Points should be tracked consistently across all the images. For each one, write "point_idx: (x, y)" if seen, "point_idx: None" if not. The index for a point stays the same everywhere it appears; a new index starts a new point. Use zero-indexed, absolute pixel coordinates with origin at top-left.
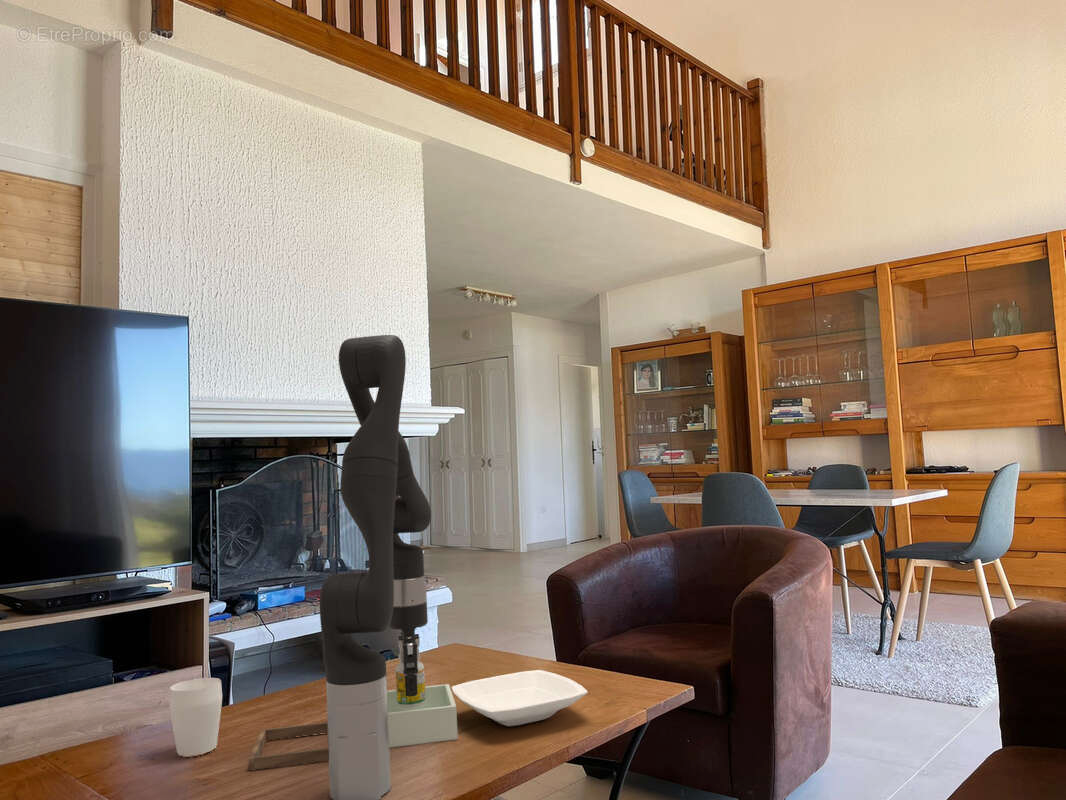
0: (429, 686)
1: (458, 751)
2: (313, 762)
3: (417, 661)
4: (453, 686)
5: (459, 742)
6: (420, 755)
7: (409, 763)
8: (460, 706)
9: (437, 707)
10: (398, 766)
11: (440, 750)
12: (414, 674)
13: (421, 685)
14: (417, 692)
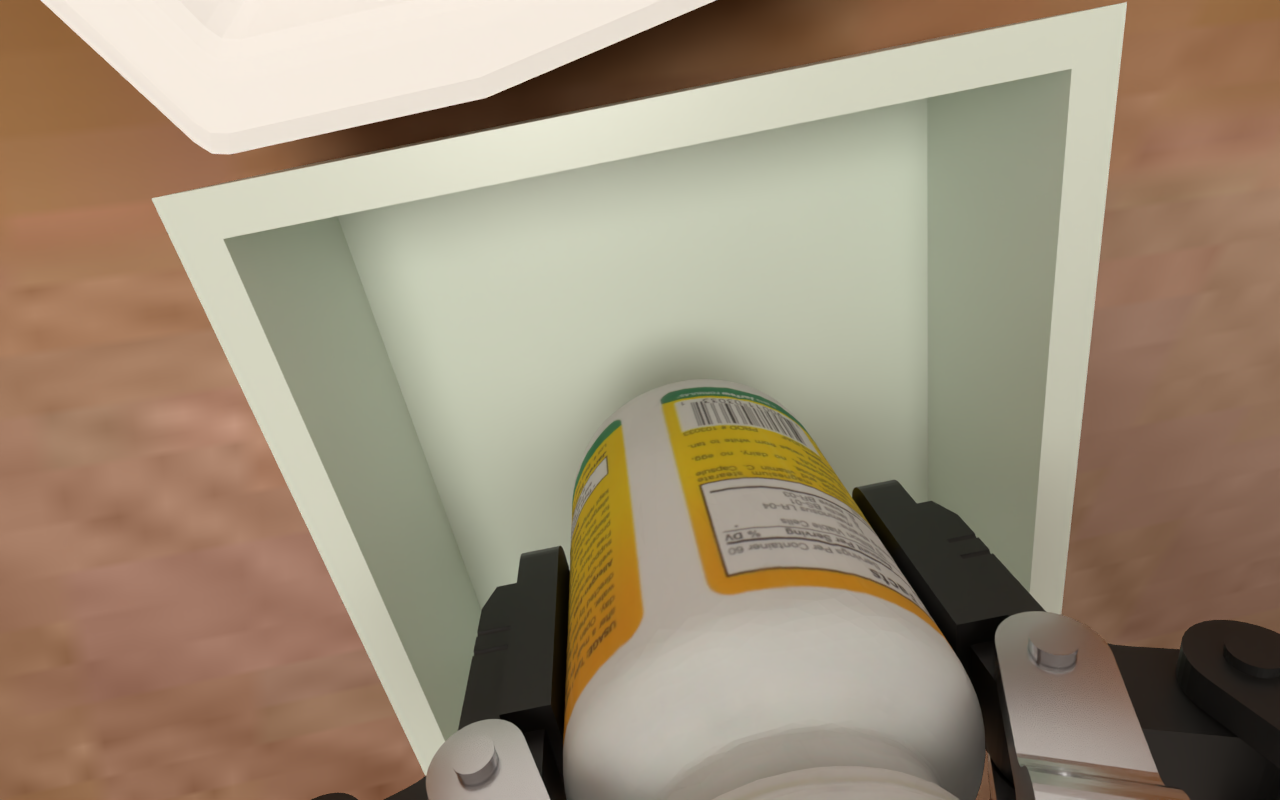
0: (270, 413)
1: (1198, 7)
2: None
3: (1113, 780)
4: (229, 126)
5: (1015, 15)
6: (1145, 276)
7: (1242, 322)
8: (75, 87)
9: (1072, 225)
10: (1254, 374)
11: (1117, 152)
12: (1146, 650)
13: (827, 485)
14: (901, 485)
